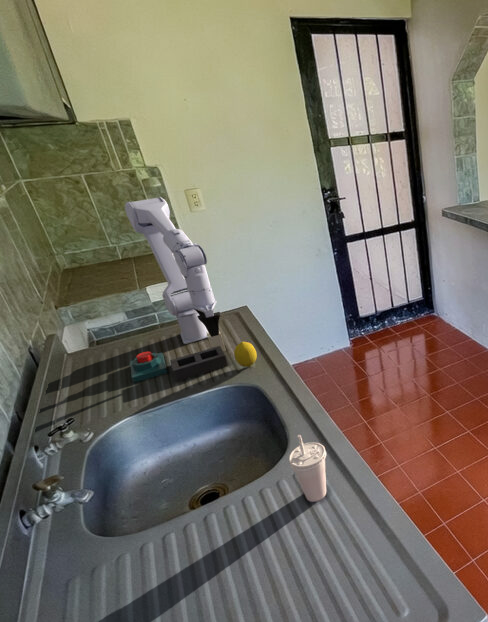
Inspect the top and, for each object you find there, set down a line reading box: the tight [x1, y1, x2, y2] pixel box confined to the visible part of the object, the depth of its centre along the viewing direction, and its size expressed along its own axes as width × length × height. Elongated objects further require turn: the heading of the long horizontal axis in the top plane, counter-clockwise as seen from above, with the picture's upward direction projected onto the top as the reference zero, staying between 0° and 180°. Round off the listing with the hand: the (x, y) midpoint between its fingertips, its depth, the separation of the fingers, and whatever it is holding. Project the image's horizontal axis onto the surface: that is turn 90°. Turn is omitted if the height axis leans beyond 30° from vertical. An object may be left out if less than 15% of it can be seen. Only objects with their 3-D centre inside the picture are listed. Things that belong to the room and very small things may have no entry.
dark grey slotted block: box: [170, 346, 229, 382], centre depth 128 cm, size 7×13×4 cm, turn 126°
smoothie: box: [288, 434, 327, 503], centre depth 82 cm, size 6×6×14 cm
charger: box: [207, 330, 226, 352], centre depth 136 cm, size 3×3×7 cm
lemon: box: [233, 341, 258, 368], centre depth 126 cm, size 6×6×8 cm
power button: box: [135, 351, 153, 363], centre depth 127 cm, size 4×4×2 cm
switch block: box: [129, 352, 168, 384], centre depth 128 cm, size 11×8×4 cm
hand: (212, 330), depth 134 cm, fingers open, 7 cm apart
